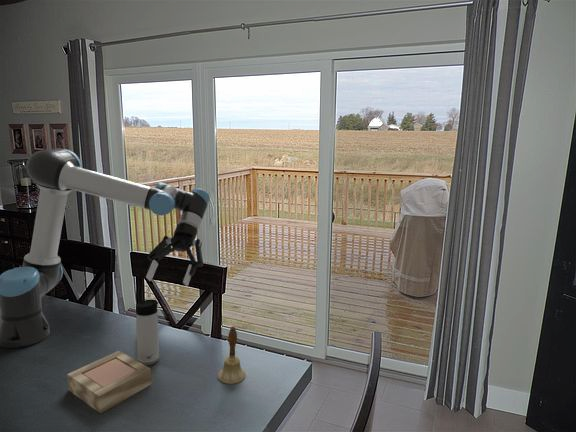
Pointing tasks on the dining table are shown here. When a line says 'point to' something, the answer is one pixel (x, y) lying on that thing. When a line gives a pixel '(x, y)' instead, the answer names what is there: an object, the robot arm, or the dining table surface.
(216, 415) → the dining table surface
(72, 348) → the dining table surface
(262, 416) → the dining table surface
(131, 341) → the dining table surface
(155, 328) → the travel mug
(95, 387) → the wooden tray
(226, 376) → the hand bell
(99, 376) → the pink plate
